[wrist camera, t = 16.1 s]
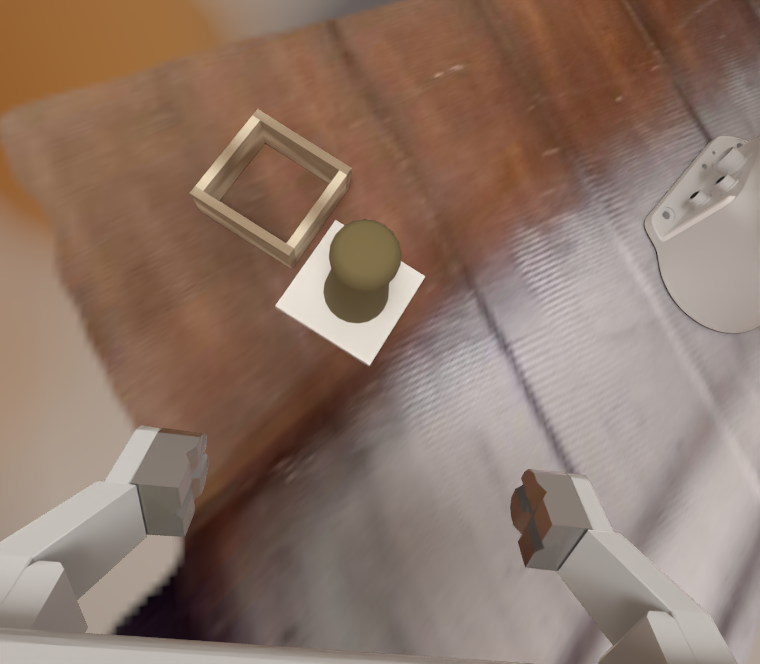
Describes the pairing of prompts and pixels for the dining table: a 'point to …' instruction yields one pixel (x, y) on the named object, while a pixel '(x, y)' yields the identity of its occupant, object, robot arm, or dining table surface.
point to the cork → (361, 270)
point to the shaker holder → (237, 160)
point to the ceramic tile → (314, 314)
